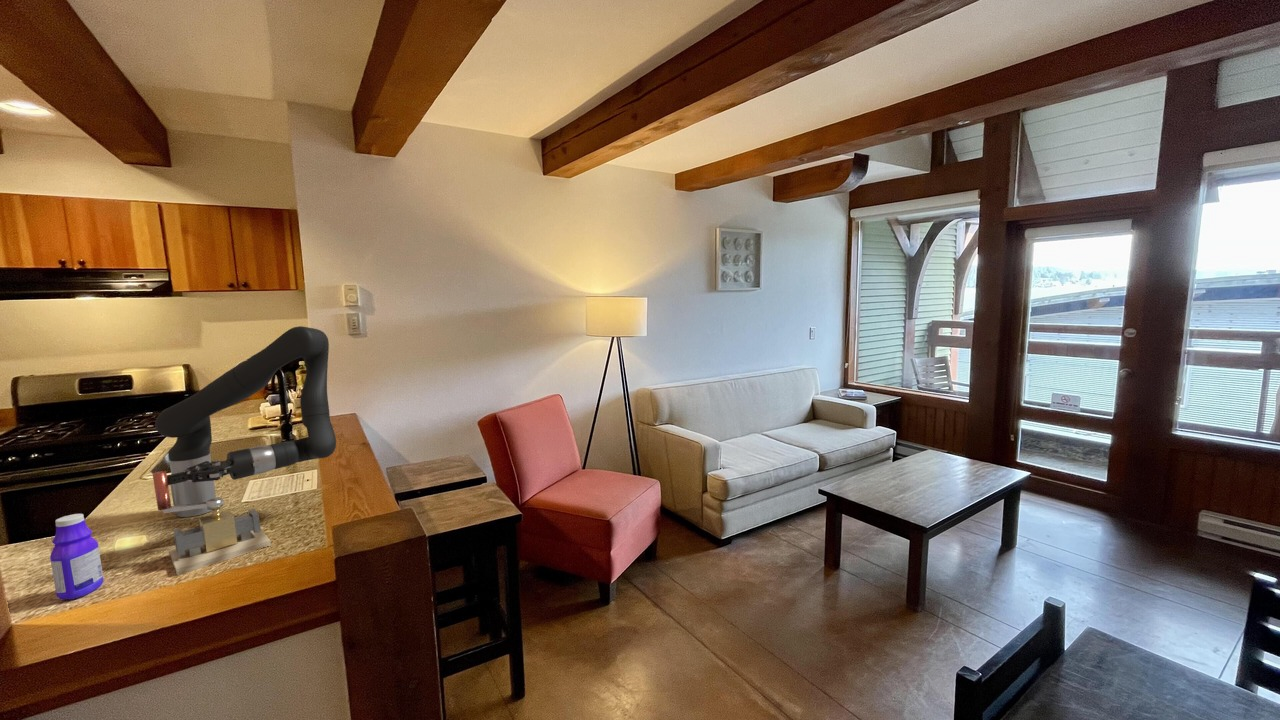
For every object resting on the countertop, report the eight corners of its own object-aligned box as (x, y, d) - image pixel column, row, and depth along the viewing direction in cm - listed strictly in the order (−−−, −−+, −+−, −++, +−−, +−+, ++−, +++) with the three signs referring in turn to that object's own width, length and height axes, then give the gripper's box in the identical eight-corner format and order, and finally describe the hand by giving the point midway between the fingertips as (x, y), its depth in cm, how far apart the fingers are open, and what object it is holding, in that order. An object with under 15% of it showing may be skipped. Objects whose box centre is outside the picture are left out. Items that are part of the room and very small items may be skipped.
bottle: (84, 584, 114) (71, 511, 111) (111, 582, 114) (99, 509, 112) (50, 603, 106) (35, 525, 104) (79, 601, 107) (65, 524, 105)
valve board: (177, 575, 116) (176, 569, 116) (169, 555, 125) (169, 550, 125) (270, 545, 129) (270, 540, 129) (258, 529, 139) (257, 524, 139)
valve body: (179, 561, 120) (173, 522, 118) (176, 554, 123) (170, 515, 122) (261, 536, 131) (257, 500, 130) (256, 530, 135) (252, 495, 134)
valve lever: (220, 508, 125) (214, 468, 124) (155, 516, 121) (149, 475, 119) (225, 503, 128) (220, 464, 127) (163, 511, 124) (156, 471, 122)
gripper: (243, 444, 140) (158, 461, 127) (257, 452, 132) (168, 471, 119) (246, 469, 141) (163, 489, 128) (260, 479, 133) (172, 501, 120)
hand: (165, 480), depth 123 cm, fingers closed
